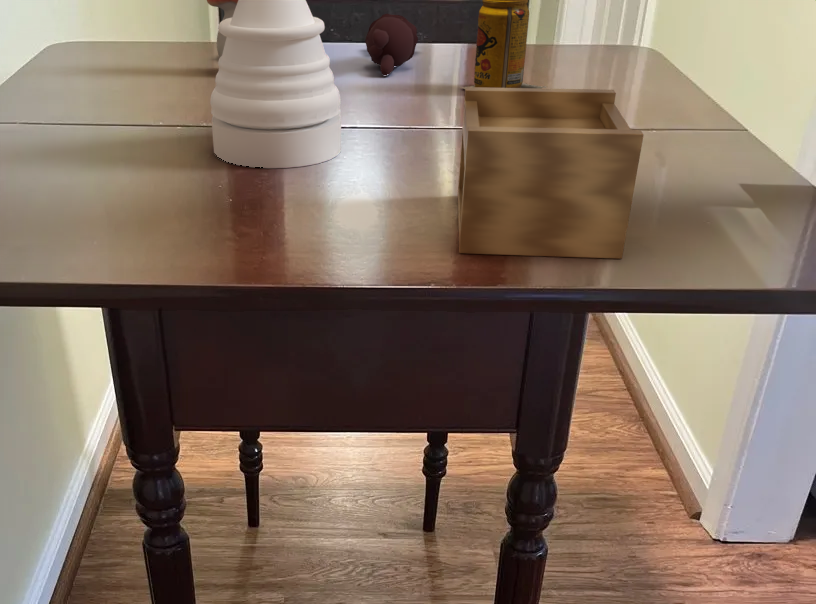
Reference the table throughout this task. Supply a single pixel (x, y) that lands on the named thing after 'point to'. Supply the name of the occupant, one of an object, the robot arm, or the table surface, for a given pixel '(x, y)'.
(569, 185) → the wooden box
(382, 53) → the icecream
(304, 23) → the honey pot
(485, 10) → the yellow drink can
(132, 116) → the table surface
